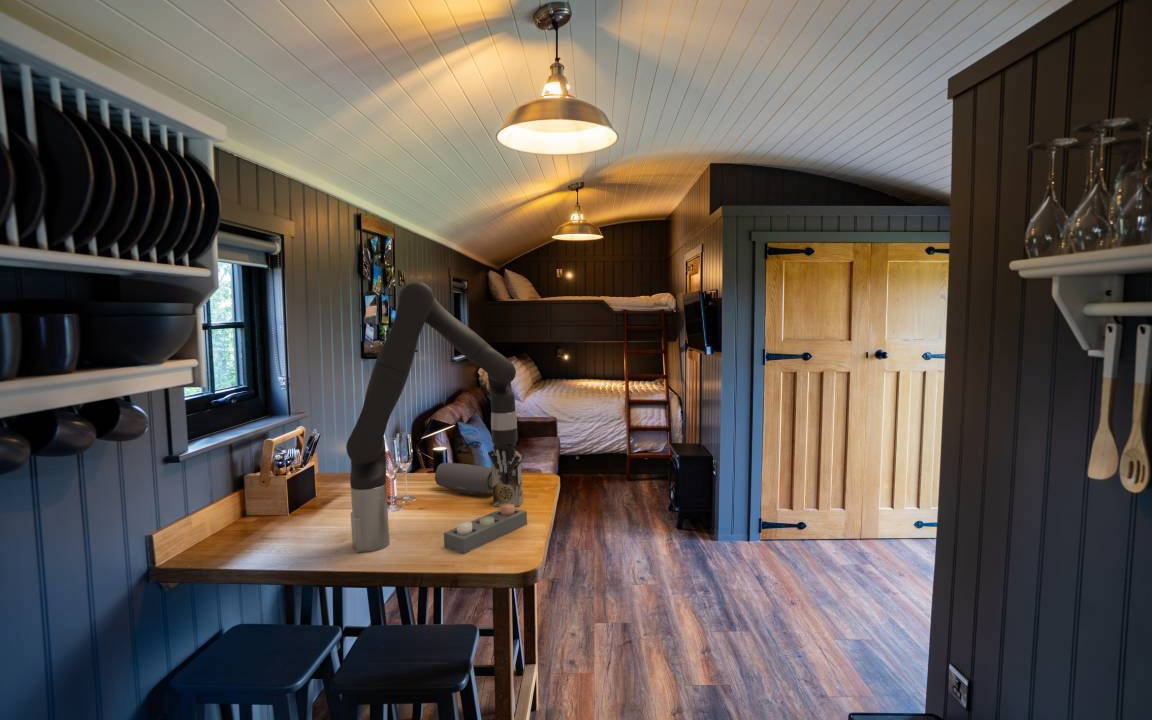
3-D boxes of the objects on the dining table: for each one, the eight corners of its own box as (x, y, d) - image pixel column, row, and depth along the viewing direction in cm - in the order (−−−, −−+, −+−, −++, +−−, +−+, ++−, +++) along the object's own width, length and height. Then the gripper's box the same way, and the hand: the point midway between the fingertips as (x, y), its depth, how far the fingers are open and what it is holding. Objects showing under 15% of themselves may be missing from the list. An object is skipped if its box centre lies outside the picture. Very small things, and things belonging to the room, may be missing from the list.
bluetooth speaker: (502, 491, 202) (500, 464, 201) (486, 500, 194) (485, 471, 193) (451, 484, 212) (449, 458, 211) (434, 492, 204) (433, 465, 203)
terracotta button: (508, 520, 166) (507, 509, 166) (497, 517, 169) (497, 506, 168) (517, 515, 169) (517, 505, 169) (507, 513, 172) (507, 502, 172)
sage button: (487, 533, 159) (486, 522, 159) (476, 530, 162) (476, 519, 162) (497, 528, 163) (497, 518, 162) (487, 525, 165) (487, 515, 165)
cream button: (464, 539, 153) (463, 528, 152) (453, 536, 155) (453, 525, 155) (475, 534, 156) (475, 523, 156) (465, 531, 158) (464, 520, 158)
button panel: (464, 553, 150) (463, 539, 150) (444, 547, 155) (443, 532, 155) (527, 524, 170) (526, 511, 170) (507, 518, 175) (507, 506, 174)
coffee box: (523, 500, 192) (521, 453, 191) (519, 506, 186) (517, 458, 184) (497, 500, 193) (495, 453, 192) (492, 506, 187) (490, 458, 185)
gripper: (529, 426, 166) (532, 484, 167) (497, 422, 174) (499, 477, 175) (511, 431, 160) (514, 491, 161) (479, 426, 168) (482, 484, 169)
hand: (506, 484), depth 168 cm, fingers closed
